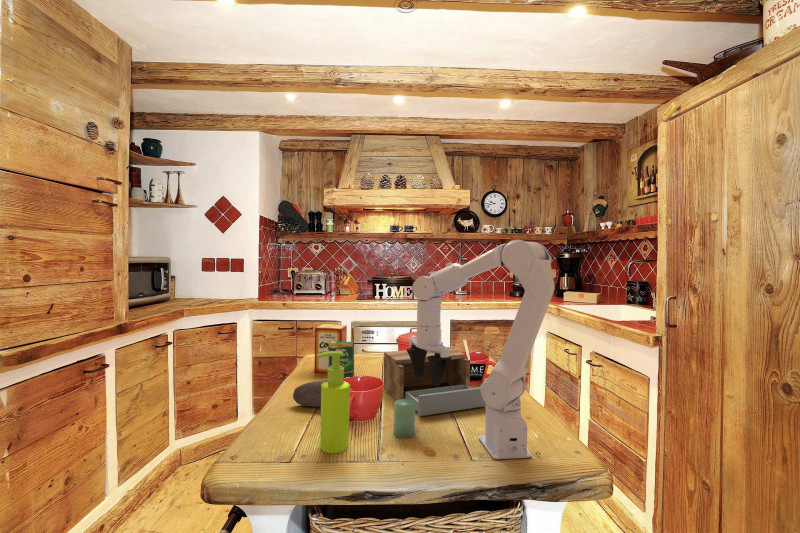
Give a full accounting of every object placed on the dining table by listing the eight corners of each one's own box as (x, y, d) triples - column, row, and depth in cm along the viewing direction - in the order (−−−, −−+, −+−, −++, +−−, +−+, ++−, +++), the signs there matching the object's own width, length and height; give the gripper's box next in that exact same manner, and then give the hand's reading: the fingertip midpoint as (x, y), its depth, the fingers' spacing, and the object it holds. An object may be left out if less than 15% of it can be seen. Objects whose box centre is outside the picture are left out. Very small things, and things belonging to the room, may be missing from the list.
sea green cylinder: (416, 437, 86) (417, 406, 86) (395, 438, 85) (395, 407, 85) (413, 428, 90) (413, 398, 90) (392, 429, 90) (393, 399, 90)
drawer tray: (488, 405, 104) (489, 387, 104) (419, 416, 96) (419, 396, 96) (466, 392, 114) (467, 375, 114) (402, 401, 106) (402, 383, 106)
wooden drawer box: (469, 393, 115) (470, 356, 115) (399, 403, 106) (400, 362, 106) (447, 380, 127) (448, 347, 126) (383, 388, 118) (383, 352, 118)
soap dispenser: (313, 443, 82) (314, 349, 82) (345, 438, 85) (346, 347, 84) (317, 456, 77) (319, 356, 76) (351, 451, 79) (353, 354, 79)
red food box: (346, 368, 138) (346, 324, 138) (341, 374, 132) (341, 327, 132) (320, 367, 140) (321, 323, 139) (314, 372, 133) (315, 326, 133)
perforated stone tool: (289, 409, 101) (290, 382, 100) (295, 402, 106) (296, 376, 106) (346, 411, 100) (347, 384, 100) (350, 403, 105) (350, 378, 105)
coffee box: (327, 384, 121) (328, 342, 121) (329, 381, 124) (330, 340, 124) (352, 385, 121) (353, 343, 120) (354, 382, 124) (355, 341, 123)
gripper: (460, 328, 90) (459, 386, 91) (425, 319, 103) (424, 370, 103) (435, 331, 87) (434, 391, 87) (402, 321, 99) (401, 374, 100)
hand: (427, 380), depth 95 cm, fingers open, 7 cm apart
